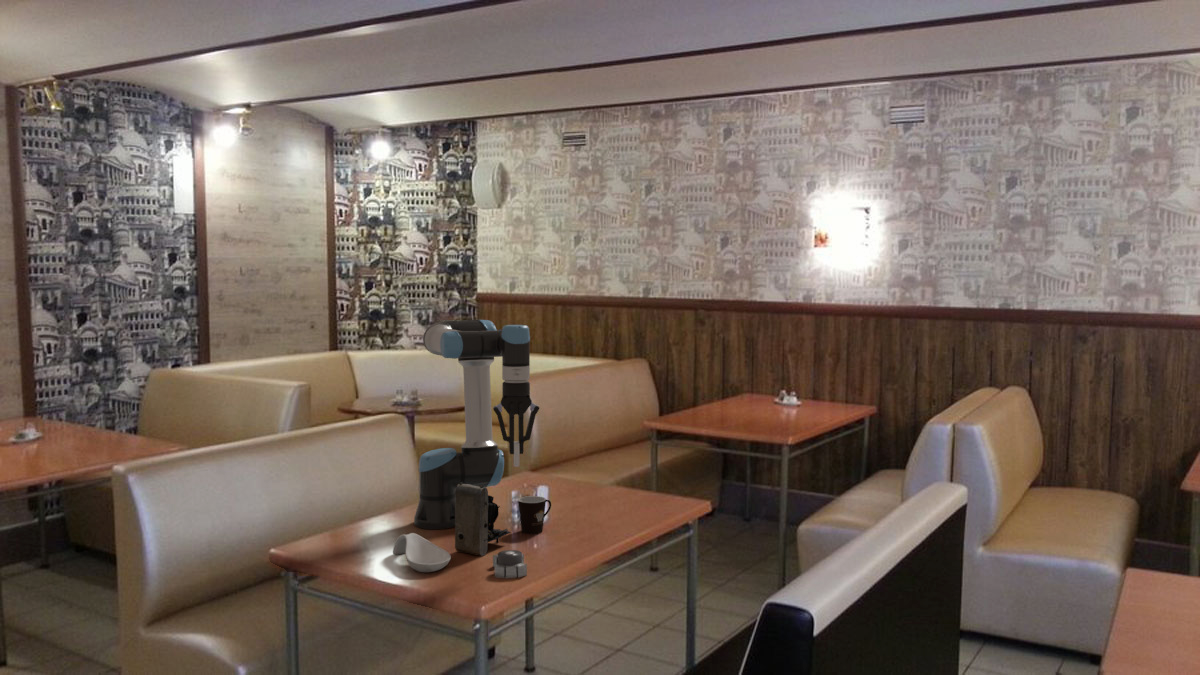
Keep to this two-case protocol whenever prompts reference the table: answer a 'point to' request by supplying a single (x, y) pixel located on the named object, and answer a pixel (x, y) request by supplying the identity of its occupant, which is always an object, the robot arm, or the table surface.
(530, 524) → the coffee mug
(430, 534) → the table surface
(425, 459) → the robot arm
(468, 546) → the vintage camera
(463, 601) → the table surface
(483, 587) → the table surface
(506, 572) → the grey segmented ring
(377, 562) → the table surface
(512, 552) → the cap
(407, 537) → the spoon rest
